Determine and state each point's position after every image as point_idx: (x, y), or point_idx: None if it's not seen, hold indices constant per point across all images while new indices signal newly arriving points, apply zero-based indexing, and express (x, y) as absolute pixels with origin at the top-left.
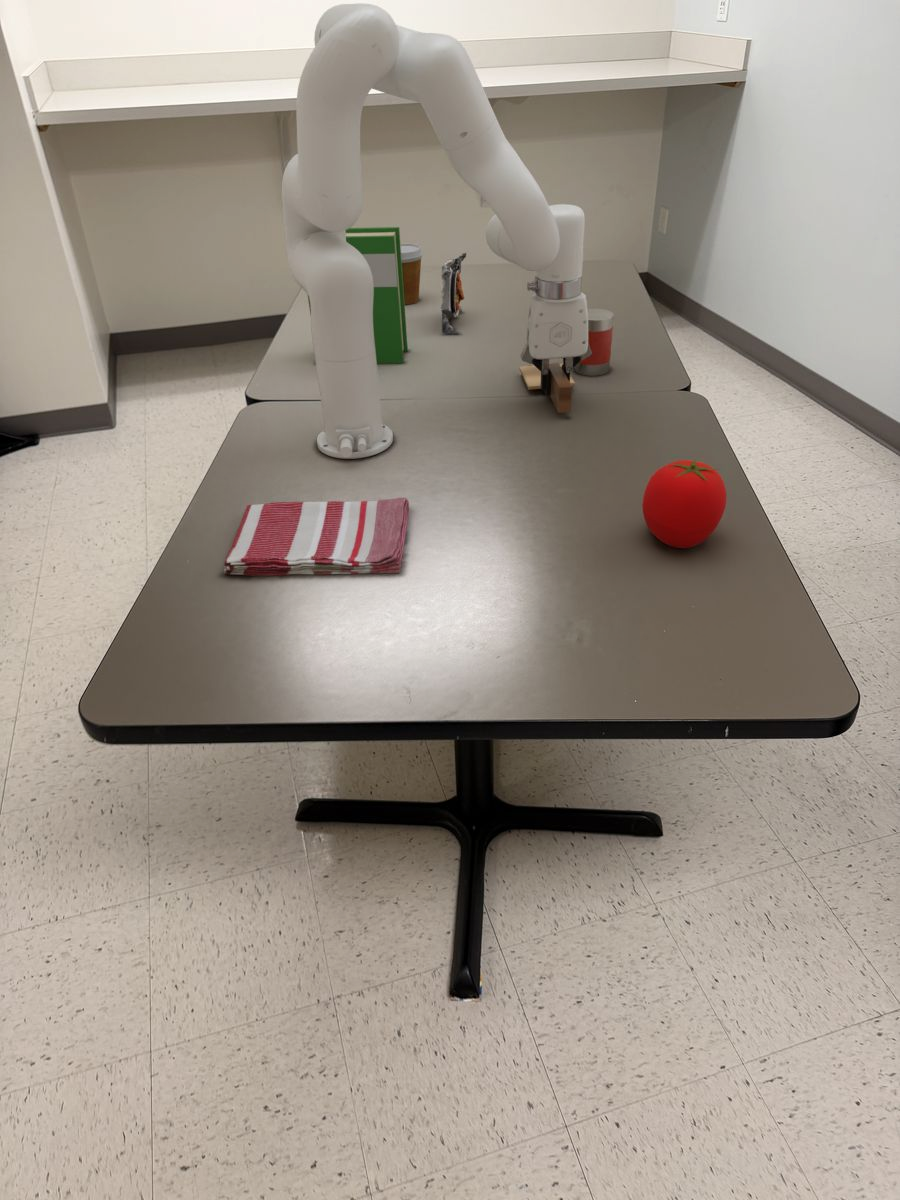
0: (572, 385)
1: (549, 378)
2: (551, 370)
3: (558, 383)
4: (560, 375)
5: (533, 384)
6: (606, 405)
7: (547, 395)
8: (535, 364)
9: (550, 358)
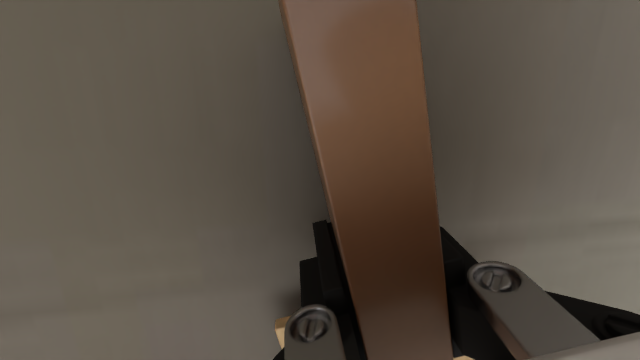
0: (286, 318)
1: None
2: (440, 307)
3: (410, 36)
4: (380, 224)
5: None
6: (118, 178)
7: None
8: (617, 316)
9: (581, 348)
